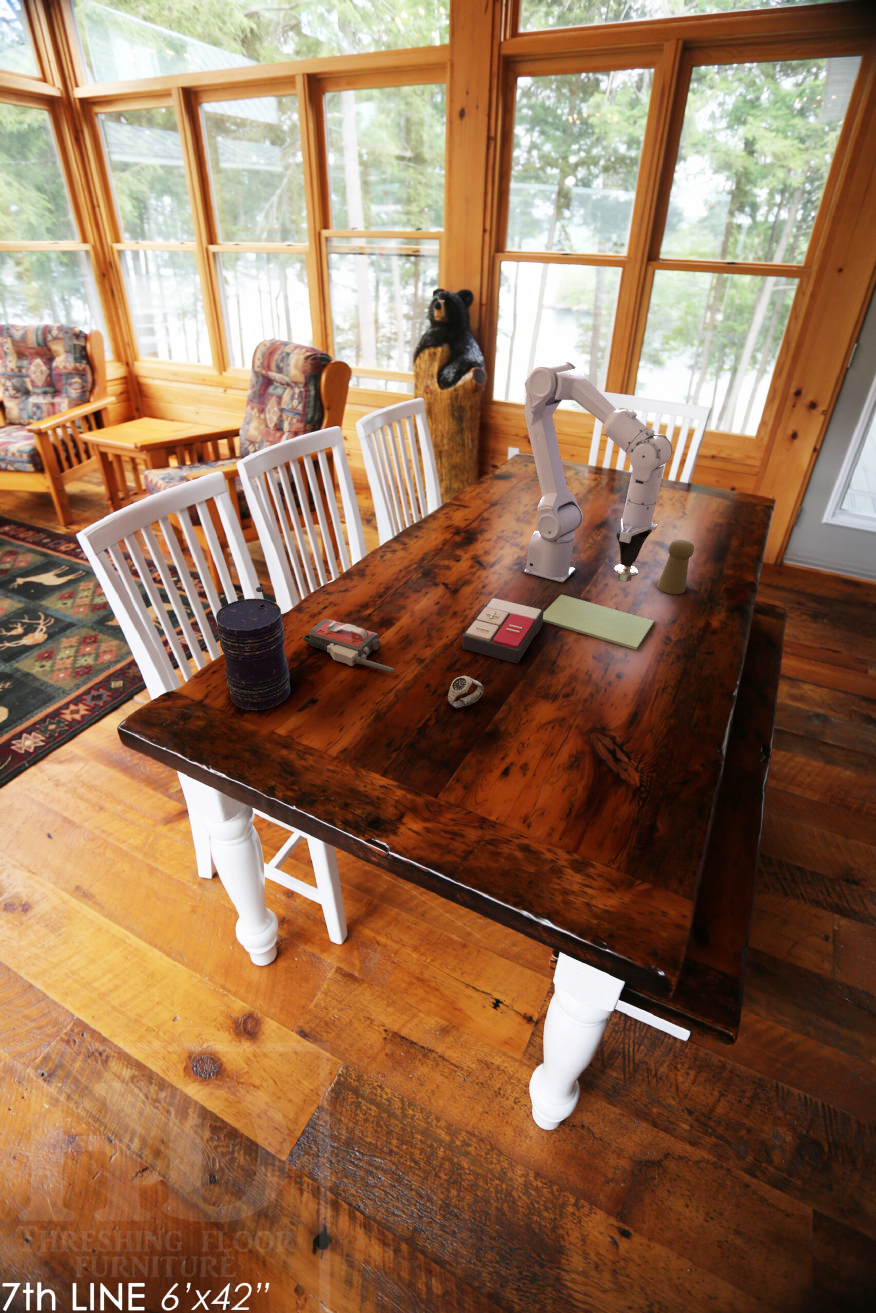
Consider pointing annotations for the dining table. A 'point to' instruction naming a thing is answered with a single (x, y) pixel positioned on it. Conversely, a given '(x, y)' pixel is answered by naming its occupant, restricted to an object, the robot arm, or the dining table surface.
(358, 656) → the walkie-talkie
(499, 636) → the calculator
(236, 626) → the dark blue cylinder
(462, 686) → the wristwatch
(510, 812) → the dining table surface
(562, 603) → the mat
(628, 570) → the screw
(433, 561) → the dining table surface
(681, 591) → the olive pawn
